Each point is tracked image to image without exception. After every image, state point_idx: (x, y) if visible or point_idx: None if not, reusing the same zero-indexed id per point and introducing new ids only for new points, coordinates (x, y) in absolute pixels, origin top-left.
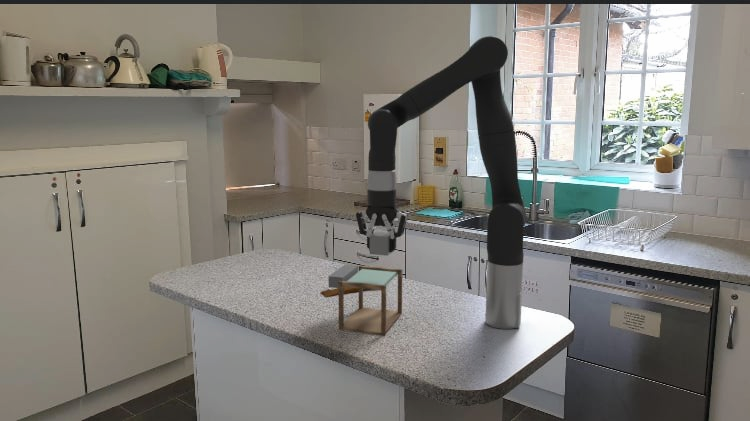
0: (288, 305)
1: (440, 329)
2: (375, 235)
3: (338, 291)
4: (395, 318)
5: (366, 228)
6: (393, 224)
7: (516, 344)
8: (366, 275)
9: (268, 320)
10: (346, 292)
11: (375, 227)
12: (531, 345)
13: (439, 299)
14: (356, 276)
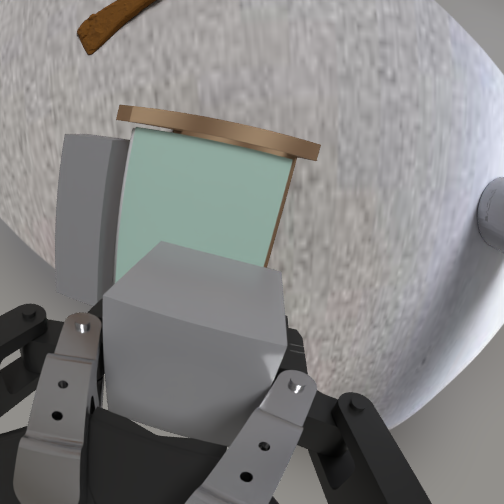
0: (29, 134)
1: (387, 252)
2: (145, 417)
3: (113, 23)
4: (282, 200)
5: (30, 330)
6: (288, 457)
7: (484, 310)
8: (164, 226)
9: (23, 227)
10: (134, 14)
11: (94, 374)
12: (499, 310)
13: (397, 39)
14: (130, 244)
